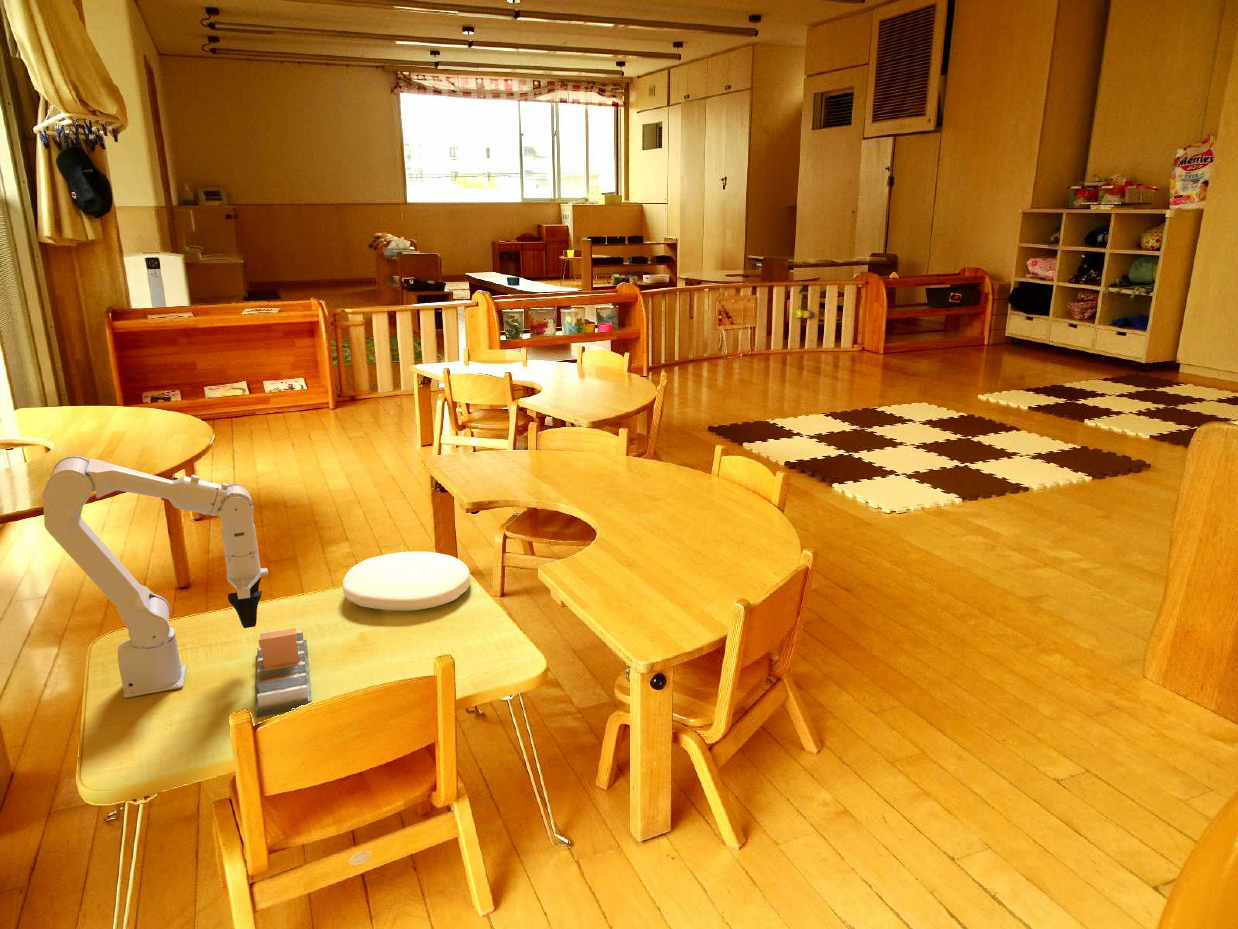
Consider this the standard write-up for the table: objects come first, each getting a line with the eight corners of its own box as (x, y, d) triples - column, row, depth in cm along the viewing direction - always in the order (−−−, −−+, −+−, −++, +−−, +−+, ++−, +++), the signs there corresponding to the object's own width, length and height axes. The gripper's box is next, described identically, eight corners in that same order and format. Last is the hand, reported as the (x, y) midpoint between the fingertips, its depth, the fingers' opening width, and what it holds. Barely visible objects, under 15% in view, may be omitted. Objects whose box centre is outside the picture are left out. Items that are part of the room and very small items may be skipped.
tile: (265, 679, 154) (260, 640, 152) (265, 672, 157) (260, 633, 154) (300, 672, 157) (295, 634, 154) (300, 666, 159) (295, 628, 156)
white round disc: (465, 543, 207) (478, 591, 182) (463, 568, 209) (476, 618, 184) (344, 544, 199) (341, 593, 174) (343, 569, 200) (340, 622, 176)
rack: (256, 717, 145) (254, 699, 144) (258, 653, 166) (255, 637, 165) (312, 706, 148) (310, 688, 147) (306, 645, 169) (304, 628, 168)
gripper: (264, 562, 151) (272, 631, 155) (265, 534, 164) (273, 598, 168) (220, 568, 148) (230, 638, 152) (225, 539, 161) (234, 603, 165)
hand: (250, 617), depth 160 cm, fingers open, 7 cm apart
